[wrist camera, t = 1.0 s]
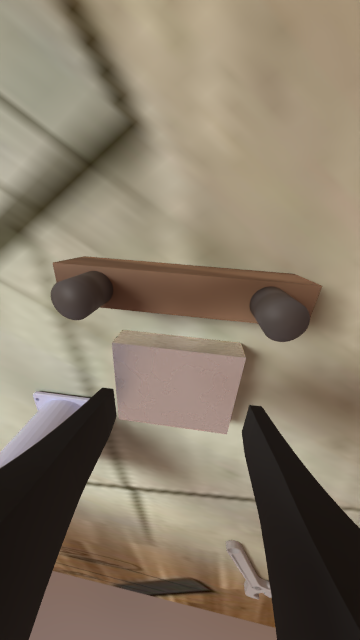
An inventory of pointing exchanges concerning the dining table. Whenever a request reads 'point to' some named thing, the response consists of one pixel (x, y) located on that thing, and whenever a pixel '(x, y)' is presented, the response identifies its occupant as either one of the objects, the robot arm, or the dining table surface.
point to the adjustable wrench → (247, 571)
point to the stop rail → (186, 293)
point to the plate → (177, 380)
